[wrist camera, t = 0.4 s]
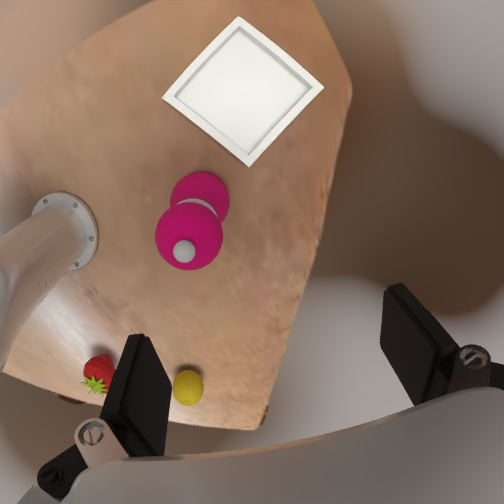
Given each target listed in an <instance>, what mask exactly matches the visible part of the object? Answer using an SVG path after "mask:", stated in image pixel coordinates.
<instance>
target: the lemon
mask: <svg viewBox="0 0 504 504" xmlns="http://www.w3.org/2000/svg"><path fill="white" fill-rule="evenodd" d="M203 389H204V385H203V381H202V378H201V377H200V375H199V374H197V373H196V372H194V371H192V370H184V371H181V372H180V373H178V374H177V376H176V377H175V379H174V382H173V394H174V397H175V398H176V400H177V401H178V402H179V403H181V404H183V405H193V404H196V403H197V402H198V401H199V400H200V398H201V397H202V394H203Z"/></svg>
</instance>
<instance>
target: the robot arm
mask: <svg viewBox="0 0 504 504" xmlns="http://www.w3.org/2000/svg"><path fill="white" fill-rule="evenodd" d="M77 204H78V205H77ZM92 236H93V237H94V238H93V237H92ZM97 244H98V229H97V224H96V222H95V219H94V216H93V215H92V213H91V211H90V209H89V208H88V207H87V206H86V204H85V203H84V202H83V201H81V200H80V199H79V198H77V197H76V196H74V195H72V194H69V193H66V192H53V193H51V194H48V195H46V196H44V197H43V198H42V199H40V200H39V201H38V202H37V204H36V205H35V207H34V209H33V211H32V214H31V217H29V218H28V219H26V220H25V221H23V222H22V223H20V224H19V225H17V226H16V227H14V228H13V229H11V230H10V231H8V232H7V233H5V234H4V235H3V236H1V237H0V374H1V372H2V370H3V368H4V365H5V363H6V360H7V358H8V355H9V352H10V350H11V347H12V345H13V342H14V340H15V338H16V336H17V334H18V333H19V331H20V330H21V328H22V326H23V325H24V323H25V322H26V321H27V319H28V318H29V317H30V315H31V314H32V313H33V311H34V310H35V309H36V308H37V306H38V305H39V304H40V303H41V301H42V300H43V299H44V298H45V297H46V295H47V294H48V293H49V292H50V290H51V289H52V288H53V287H54V286H55V285H56V283H57V282H58V281H59V280H60V279H61V278H62V276H63V275H64V274H65V273H66V272H67V271H68V270H76V269H79V268H81V267H83V266H84V265H85V264H87V263H88V262H89V261H90V259H91V258H92V257H93V255H94V253H95V251H96V248H97ZM380 346H381V349H382V351H383V352H384V354H385V356H386V357H387V359H388V361H389V362H390V364H391V366H392V368H393V369H394V371H395V373H396V374H397V376H398V378H399V380H400V381H401V383H402V385H403V387H404V389H405V390H406V392H407V394H408V396H409V398H410V399H411V401H412V403H413V404H414V407H411V408H409V409H406V410H403V411H400V412H397V413H394V414H391V415H388V416H386V417H383V418H379V419H377V420H373V421H370V422H367V423H364V424H361V425H357V426H353V427H350V428H346V429H342V430H339V431H335V432H331V433H327V434H323V435H319V436H314V437H310V438H306V439H301V440H296V441H291V442H286V443H281V444H275V445H269V446H263V447H256V448H250V449H242V450H235V451H227V452H216V453H205V454H190V455H174V456H164V450H165V440H166V432H167V423H168V416H169V408H170V400H171V393H172V385H171V382H170V380H169V378H168V376H167V374H166V372H165V370H164V368H163V366H162V364H161V361H160V359H159V357H158V355H157V353H156V351H155V349H154V347H153V344H152V342H151V340H150V338H149V337H148V336H147V337H145V335H144V334H134V335H129V336H128V339H127V341H126V344H125V347H124V350H123V353H122V355H121V358H120V361H119V364H118V367H117V369H116V370H115V372H114V374H113V377H112V380H111V383H110V386H109V389H108V392H107V395H106V398H105V401H104V405H103V408H102V411H101V414H100V418H92V419H88V420H86V421H84V422H83V423H82V424H80V425H79V427H78V428H77V430H76V432H75V442H76V444H75V445H73V446H72V447H70V448H69V449H67V450H66V451H64V452H63V453H61V454H60V455H58V456H57V457H55V458H54V459H52V460H51V461H49V462H48V463H46V464H45V465H44V466H42V467H41V469H40V470H39V472H38V475H37V482H38V485H37V486H36V487H35V486H34V485H33V486H32V487H31V488H30V489H29V490H28V491H27V493H26V494H25V495H24V496H23V497H22V498H21V499H20V501H19V502H18V503H17V504H504V365H502V364H499V363H494V362H491V357H490V354H489V353H488V351H487V350H486V349H485V348H483V347H481V346H478V345H475V344H469V345H465V346H463V347H461V348H460V347H459V346H458V344H457V343H456V342H455V341H454V340H453V338H452V337H451V336H450V335H449V334H448V333H447V331H446V330H445V329H444V328H443V327H442V326H441V324H440V323H439V322H438V321H437V320H436V319H435V317H434V316H432V314H431V313H430V312H429V311H428V310H427V309H425V307H424V306H423V305H422V304H421V303H420V302H419V301H418V299H417V298H416V297H415V296H414V295H413V294H412V293H411V292H410V291H409V290H408V289H407V287H406V286H405V285H404V284H403V283H398V284H394V285H390V286H388V288H387V290H385V291H384V297H383V312H382V324H381V335H380Z"/></svg>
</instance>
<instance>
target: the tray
mask: <svg viewBox="0 0 504 504" xmlns="http://www.w3.org/2000/svg"><path fill="white" fill-rule="evenodd" d="M323 88H324V87H323V86H322V85H321V84H320V83H319V82H318V81H317V80H316V79H315V78H314V77H312V76H311V75H310V74H309V73H308V72H307V71H306V70H305V69H304V68H303V67H301V66H300V65H299V64H298V63H297V62H296V61H295V60H293V59H292V58H291V57H290V56H289V55H288V54H286V53H285V52H284V51H283V50H282V49H280V48H279V47H278V46H277V45H276V44H274V43H273V42H272V41H271V40H269V39H268V38H267V37H266V36H264V35H263V34H262V33H260V32H259V31H258V30H257V29H255V28H254V27H253V26H251V25H250V24H249V23H247V22H246V21H245V20H243V19H242V18H240V17H239V16H238V17H237V18H236V19H235V20H234V21H233V22H232V23H231V24H230V25H229V26H228V27H226V28H225V29H224V30H223V31H222V32H221V33H220V34H219V35H218V36H217V37H216V38H215V39H214V40H213V41H212V42H211V43H210V44H209V45H208V46H207V47H206V49H205V50H204V51H203V52H202V53H201V54H200V55H199V56H198V57H197V58H196V59H195V60H194V61H193V62H192V63H191V65H190V66H189V67H188V68H187V69H186V70H185V71H184V72H183V74H182V75H181V76H180V77H179V78H178V79H177V80H176V82H175V83H174V84H173V85H172V86H171V87H170V89H169V90H168V91H167V92H166V93H165V95H164V96H163V97H162V98H163V99H164V100H165V101H167V102H168V103H169V104H171V105H172V106H173V107H175V108H176V109H177V110H178V111H180V112H181V113H182V114H184V115H185V116H186V117H188V118H189V119H190V120H191V121H193V122H194V123H195V124H197V125H198V126H199V127H200V128H202V129H203V130H204V131H205V132H207V133H208V134H209V135H210V136H212V137H213V138H214V139H215V140H217V141H218V142H219V143H220V144H222V145H223V146H224V147H225V148H226V149H228V150H229V151H230V152H231V153H233V154H234V155H235V156H236V157H237V158H239V159H240V160H241V161H242V162H243V163H245V164H246V165H247V166H248V167H250V166H251V165H252V164H253V163H254V161H255V160H256V159H257V158H258V157H259V156H260V155H261V154H262V153H263V151H264V150H265V149H266V148H267V147H268V146H269V145H270V144H271V143H272V142H273V141H274V139H275V138H276V137H277V136H278V135H279V134H280V133H281V132H282V131H283V130H284V129H285V128H286V127H287V125H288V124H289V123H290V122H291V121H292V120H293V119H294V118H295V117H296V116H297V115H298V114H299V113H300V112H301V111H302V110H303V109H304V108H305V106H306V105H307V104H308V103H309V102H310V101H311V100H312V99H313V98H314V97H315V96H316V95H317V94H318V93H319V92H320V91H321V90H322V89H323Z"/></svg>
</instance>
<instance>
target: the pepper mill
mask: <svg viewBox="0 0 504 504" xmlns="http://www.w3.org/2000/svg"><path fill="white" fill-rule="evenodd" d="M170 206H171V208H169V209H168V210H167V211H166V212H165V213H164V214H163V215H162V217H161V218H160V220H159V222H158V224H157V228H156V233H155V239H156V244H157V248H158V250H159V252H160V254H161V256H162V257H163V258H164V259H165V260H166V261H167V262H168V263H169V264H171V265H172V266H174V267H176V268H179V269H182V270H195V269H199V268H202V267H204V266H206V265H208V264H209V263H210V262H212V261H213V259H214V258H215V257H216V256H217V255H218V253H219V250H220V248H221V245H222V241H223V231H222V226H221V222H222V221H223V220H224V218H225V216H226V215H227V211H228V208H229V195H228V191H227V189H226V187H225V186H224V184H223V183H222V181H221V180H220V179H219V178H218V177H217V176H216V175H214V174H212V173H210V172H205V171H201V172H196V173H193V174H190V175H188V176H186V177H184V178H183V179H181V180H180V181H179V182H178V183H177V185H176V186H175V188H174V190H173V192H172V195H171V200H170Z"/></svg>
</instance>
